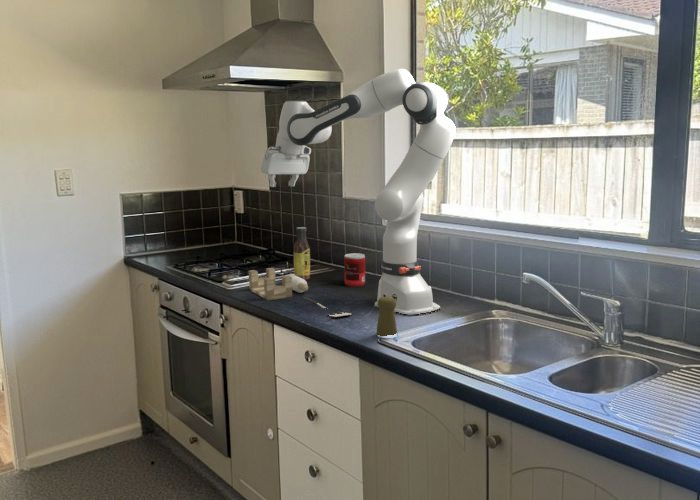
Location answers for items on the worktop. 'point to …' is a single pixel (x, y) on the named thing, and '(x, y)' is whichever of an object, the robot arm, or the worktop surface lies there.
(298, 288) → the roll
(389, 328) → the olive green tall figure
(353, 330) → the worktop surface
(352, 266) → the canned food
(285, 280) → the holder
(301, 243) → the sauce bottle
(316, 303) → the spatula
